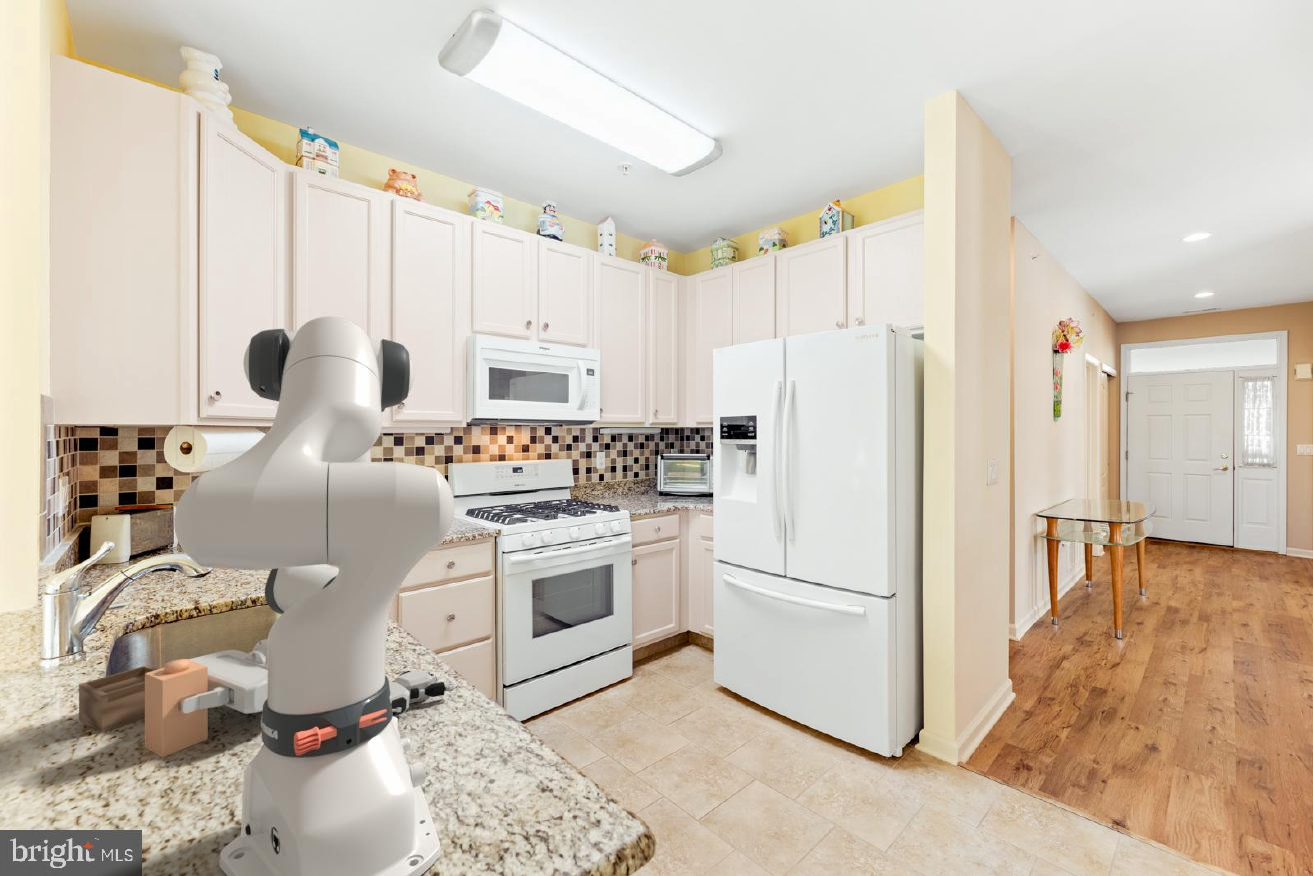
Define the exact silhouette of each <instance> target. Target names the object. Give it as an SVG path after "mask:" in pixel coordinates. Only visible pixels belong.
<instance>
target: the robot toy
mask: <svg viewBox="0 0 1313 876" xmlns="http://www.w3.org/2000/svg"><path fill="white" fill-rule="evenodd" d="M430 672H431V671H422V670H406V671H404V672H401V673H400V674H399V676H396V678H395V679H394V680H392V681H391V680H389V687H390V690H391V695H392V703H391V704H392V712H393V716H394V717H395V718H397V717H399V716H401V715H404V713H405V712H406V711H407V710H408V709H409V708H410V704H413V703H420V701H421V702H424V701H426V700H427V699H428V698H429V697H431V698H435V697H441V696H442V697H443V696H445V692H453V691H454V690H455V689H456V686H455V685H454V684H453V683H446V684H445V682H444V681H440V682H437V681H438V677H437V674H436V673H430ZM423 700H424V701H423Z"/></svg>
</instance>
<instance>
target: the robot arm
mask: <svg viewBox="0 0 1313 876" xmlns="http://www.w3.org/2000/svg"><path fill="white" fill-rule="evenodd" d="M242 365H243V371H244V375H245V377H246V379H247V381H248V383H249V385H250V389H251V390H252V391H253V392H254V393H255V394H256V395H258V396H259V397H260V398H262V399H264V400H265V399H266V400H268V401H269V400H270V401H273V402H274V401H275V402H278V406H277V410H276V414H275V418H274V420H273V424H272V425H271V427H270V429H269V430H268V431H267V432H266V434H264V436H263V437H262V438H260V439H259V441H258V442H257V443H255V444H254V445H252V447H251V448H249V449H248V450H246V452H244V453H242V454H241V455H239V456H238V457H236V458H234V459H232V460H231V461H228V462H227V463H225V464H223V465H220V466H218V467H215V468H213V469H210V470H209V471H206V472H203V473H202V474H201V475H199V476H198V477H197V478H195V480H194V481H192V482H191V483H190V485H188V487H187V488H186V489H185V490H184V492H183V494H182V495H181V496H180V497H179V501H178V503H177V505H176V509H175V513H174V521H173V522H174V523H173V525H174V533H175V537H176V539H177V541H178V543H179V546H180V547H181V549H182V550H183V552H184V553H185V554H186V555H187V557H188V558H190V559H191V560H192V561H193V563H196V564H197V565H199V566H200V567H203V568H211V569H212V568H213V569H225V570H236V571H237V570H240V571H241V570H242V571H265V570H270V571H269V574H268V578H267V579H266V582H265V587H264V599H265V601H266V604H267V605H268V607H269V608H270V609H271V610H272V611H274V613H276V614H279V616H278V618H277V619H276V620H275V622H274V623H273V625H272V626H271V628H270V630H269V633H268V636H267V638H265V639H262V640H259V641H258V642H257V643H256V644H255V645H254V647H253V649H252V651H250V652H245V651H242V650H238V649H229V650H222V651H217V652H214V653H213V652H212V653H209V654H205V655H204V654H203V655H201V656H196V657H193V658H188V660H190V661H193V662H196V663H198V664H201V665H204V666H207V667H208V692H206V693H202V694H198V695H196V694H191V695H188V696H187V697H183V698H181V699H179V701H178V710H179V711H181V712H183V713H189V712H192V711H195V710H198V709H205V708H208V709H210V708H211V709H212V708H217V707H221V706H226V707H229V708H231V709H233V710H235V711H238V712H240V713H243V714H256V713H260V712H262V713H261V716H260V728H261V741H262V743H263V745H262V747H261V748H260V749H259V751H258V752H257V754H256V755H255V756H254V758H253V759H252V760H250V762H249V763H248V765H247V766H246V767H245V768H244V772H243V783H242V786H243V788H242V802H241V804H242V805H241V824H240V825H241V828H240V835H239V836H237V837H236V838H234V839H233V840H232V841H231V842H230V843H228V844H227V845H226V846H224V847H223V849H222V850H221V851H220V853H219V859H218V860H219V861H218V866H219V868H220V869H221V871H223V872H224V874H225V875H226V876H422V875H423V874H424V873H425V872H426V871H428V870H429V868H431V867H432V866H433V864H435V863H436V861H437V860H438V859H439V858H440V856H441V855H440V854H442V852H441V851H442V850H441V843H440V839H439V836H438V833H437V830H436V827H435V824H434V822H433V819H432V816H431V812H430V809H429V806H428V804H427V803H428V802H427V800H426V798H425V795H424V791H423V789H422V786H423V785H424V784H425V781H426V777H425V776H426V773H425V767H424V766H425V765H424V763H423V762H422V761H418V762H415V763H411V764H409V763H408V762H407V758H406V755H405V753H407V752H409V751H410V750H411V741H410V738H409V737H406V738H401V734H400V731H399V727H398V722H399V721H398V720H399V719H398V718H397V717H394V716H393V712H392V704H391V703H392V695H391V690H390V687H389V681H390V680H389V677H387V676H386V655H387V653H386V652H387V651H386V650H387V640H388V639H387V638H388V628H389V627H388V626H389V618H390V613H391V609H392V606H393V603H394V600H395V597H396V596H397V593H398V591H399V589H400V587H401V586H402V584H403V583H404V581H405V580H406V578H407V576H408V575H409V573H410V572H411V570H413V568H415V566H416V565H417V564H418V563H419V562H420V561H421V560H422V559H423V558H424V557H425V556H426V555H427V554H429V552H431V551H433V550H434V549H435V548H437V546H439V545H440V544H441V542H443V540H444V539H445V537H446V536H447V535H448V533H449V531H450V529H451V528H452V527H451V526H452V524H453V521H454V516H455V511H456V510H455V507H456V506H455V505H456V504H455V497H454V494H453V490H452V488H451V486H450V484H449V482H448V480H447V479H446V478H445V476H444V475H442V473H441V472H440V471H438V469H437V468H435V467H430V466H426V465H425V466H424V465H419V464H415V463H407V462H406V463H405V462H400V461H371V456H372V451H371V450H372V447H373V446H374V445H375V443H376V442H377V441H378V439H379V437H380V435H381V434H382V433H381V432H382V429H383V428H382V427H383V423H382V422H383V421H382V419H383V418H382V413H383V412H385V410H386V409H388V408H391V407H394V406H398V405H400V404H401V403H402V402H404V401H405V400H407V398H408V396H409V393H410V391H411V389H412V387H413V384H414V380H415V368H414V364H413V361H412V358H411V357H410V352H409V350H408V348H406V347H405V346H404V344H402V343H399V342H396V341H393V340H389V339H385V338H382V339H381V340H379V339H375V338H371V337H370V338H369V336H368V334H367V333H366V332H365V331H364V329H363V328H361V327H360V326H359V325H358V324H356V323H354V322H353V321H350V320H349V319H346V318H342V317H338V316H321V317H316V318H313V319H311V320H309V321H307V322H305V323H304V324H303V325H302V326H300V328H299V329H298V330H285V329H284V328H272V329H266V330H261V331H259V332H258V333H256V334H254V335H253V336H252V337H251V338H250V342H249V344H248V345H247V347H246V349H245V352H244V355H243V364H242ZM333 565H334V566H333Z"/></svg>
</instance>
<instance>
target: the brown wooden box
mask: <svg viewBox="0 0 1313 876" xmlns="http://www.w3.org/2000/svg"><path fill="white" fill-rule="evenodd" d="M158 669H159V668H157V667H154V666H152V665H148V664H146V665H142V666H139V667H135V668H132V669H128V670H125V671H121V672H118V673H114V674H111V675H108V676H103V677H100V678H97V679H93V680H89V681H85V682H83V683H80V684H78V720H79V721H81V722H83V723H84V724H87V725H88V726H90V727H92V728H93V729H95V730H97V731H99V732H100V733H104V732H107V731H110V730H113V729H116V728H119V727H122V726H124V725H127V724H131V723H134V722H137V721H140V720H142V719H145V673H148V672H151V671H155V670H158Z"/></svg>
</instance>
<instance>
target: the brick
mask: <svg viewBox="0 0 1313 876" xmlns="http://www.w3.org/2000/svg"><path fill="white" fill-rule="evenodd" d="M157 669H158V670H155V671H151V672H148V673H145V718H144V749H146V750H148V751H150V752H152V753H154V754H156V755H158V756H160V757H161V758H165V757H166V756H168V755H171V754H173V753H176V752H179V751H181V750H183V749H186V748H189V747H191V746H194V745H196V744H198V743H201V742H204V741H206V740H208V734H209V733H208V730H209V729H208V724H209V723H208V715H209V714H208V711H209V710H208V709H209V708H205V709H198V710H195V711H192V712H189V713H183V712H181V711H179V710H178V701H179V699H181V698H183V697H187V696H188V695H191V694H196V695H198V694H202V693H206V692H208V667H207V666H204V665H201V664H198V663H196V662H193V661H190V660H189V658H187V659H186V658H181V659H175V660H171V661H168V662H166V663H164V664H163V667H161V668H157Z"/></svg>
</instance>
